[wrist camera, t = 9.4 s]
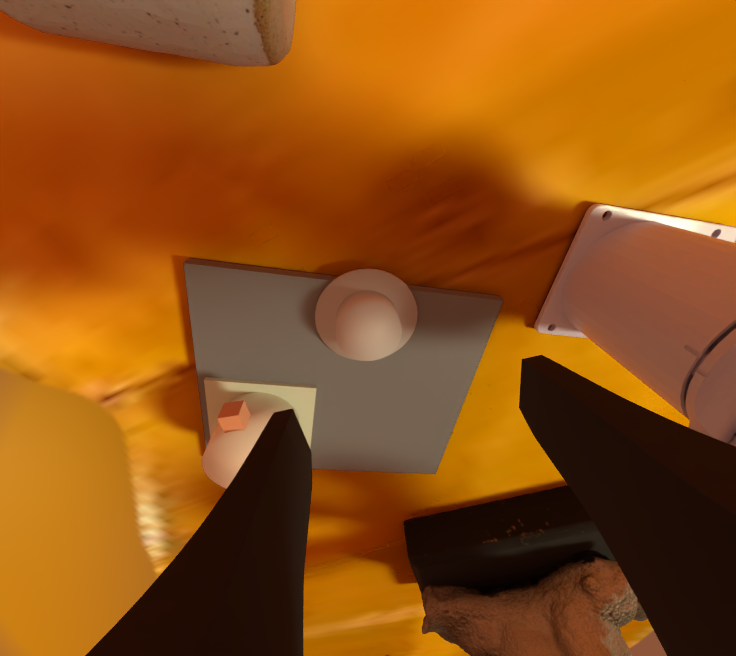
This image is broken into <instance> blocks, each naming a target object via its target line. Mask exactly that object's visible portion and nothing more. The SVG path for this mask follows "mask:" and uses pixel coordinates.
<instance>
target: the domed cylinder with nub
mask: <svg viewBox="0 0 736 656" xmlns="http://www.w3.org/2000/svg"><path fill="white" fill-rule="evenodd" d="M288 409H293V410H294V412H295V414H296V417H297V419H298V421H299V417H298V414H297V412H296V410H295V409H294V408H293V406H292V405H291V404H289V403H288V402H287V401H285V400H284V399H282V398H280V397H278V396H275V395H272V394H268V393H261V392H253V393H246V394H242V395H239V396H237V397H235V398H233V399H232V400H230V401H229V402H228V403H224V404H223V406H222V409H221V411H220V413H219V415H218V418H217V419H218V422H217V425H216V427H215V429H214V431H213V434H212V436H211V438H210V441H209V443H208V445H207V447H206V450H205V452H204V454H203V457H202V467H203V470H204V472H205V473H206V475H207V476H208V477H209V478H210V479H211V480H212V481H213V482H215V483H216V484H218V485H219V486H221V487H223V488H226V489H227V488H228V486H229V485H230V483H231V482H232V480H233V479H234V477H235V476H236V474H237V472H238V471H239V469H240V468H241V466H242V464H243V463H244V461H245V460H246V458H247V456H248V455H249V453H250V451H251V450H252V448H253V446H254V445H255V443H256V441H257V440H258V438H259V436H260V435H261V433H262V431H263V429H264V428H265V426H266V424H267V423H268V421H269V419H270V418H271V416H272V415H273V413H274V412H279V411H283V410H288Z"/></svg>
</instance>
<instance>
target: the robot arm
mask: <svg viewBox="0 0 736 656" xmlns="http://www.w3.org/2000/svg"><path fill="white" fill-rule="evenodd" d="M606 211H607V214H606V216H605V217H604V218H603V219H602V216H603V214H604V213H605V212H606ZM712 233H713V234H712ZM735 240H736V227H733V226H728V225H722V224H716V223H711V222H705V221H699V220H693V219H687V218H681V217H675V216H669V215H664V214H658V213H652V212H646V211H640V210H634V209H628V208H622V207H617V206H611V205H605V204H594V205H592V206H591V207H589V208H588V210H587V211H586V214H585V216H584V218H583V220H582V222H581V224H580V227H579V229H578V231H577V233H576V235H575V237H574V240H573V242H572V244H571V246H570V248H569V250H568V253H567V255H566V257H565V259H564V261H563V263H562V266H561V268H560V270H559V272H558V274H557V276H556V279H555V281H554V283H553V285H552V287H551V289H550V292H549V294H548V296H547V298H546V300H545V302H544V305H543V307H542V309H541V311H540V313H539V316H538V318H537V320H536V322H535V325H534V327H535V329H536V330H537V331H538V332H539V333H544V334H553V335H563V336H572V337H582V338H589V339H590V340H591V341H593V342H594V343H595V344H596V345H598V346H599V347H600V348H601V349H602V350H604V351H605V352H606V353H607V354H609V355H610V356H611V357H612V358H614V359H615V360H616V361H617V362H619V363H620V364H621V365H622V366H623V367H625V368H626V369H627V370H628V371H630V372H631V373H632V374H633V375H635V376H636V377H637V378H638V379H640V380H641V381H642V382H643V383H644V384H646V385H647V386H648V387H649V388H651V389H652V390H653V391H654V392H656V393H657V394H658V395H659V396H661V397H662V398H663V399H664V400H666V401H667V402H668V403H669V404H670V405H672V406H673V407H674V408H675V409H677V410H678V411H679V412H680V413H682V414H683V415H684V416H685V417H687V418H688V419H689V420H690V424H689V427H685V426H683V425H681V424H678V423H676V422H674V421H671V420H669V419H667V418H665V417H663V416H660V415H658V414H656V413H654V412H652V411H650V410H647V409H645V408H643V407H641V406H639V405H637V404H635V403H633V402H631V401H629V400H627V399H625V398H622V397H620V396H618V395H617V394H615V393H613V392H611V391H609V390H607V389H605V388H603V387H601V386H599V385H597V384H595V383H593V382H592V381H590V380H588V379H586V378H584V377H582V376H580V375H578V374H577V373H575V372H573V371H571V370H569V369H567V368H566V367H564V366H562V365H560V364H558V363H556V362H554V361H552V360H551V359H549V358H547V357H545V356H543V355H539V356H535V357H530V358H525V359H522V367H521V384H520V402H519V408H520V410H521V412H522V414H523V416H524V418H525V420H526V422H527V424H528V426H529V427H530V429H531V431H532V433H533V435H534V436H535V438H536V439H537V441H538V442H539V444H540V445H541V447H542V448H543V450H544V451H545V452H546V454H547V455H548V457H549V458H550V460H551V461H552V463H553V464H554V465H555V467H556V468H557V470H558V471H559V472H560V474H561V475H562V477H563V478H564V479H565V481H566V482H567V484H568V485H569V487H570V488H571V489H572V491H573V492H574V494H575V495H576V496H577V498H578V499H579V501H580V502H581V504H582V505H583V506H584V508H585V510H586V511H587V513H588V514H589V516H590V517H591V519H592V520H593V522H594V523H595V525H596V527H597V529H598V530H599V532H600V534H601V535H602V537H603V539H604V541H605V542H606V544H607V546H608V547H609V549H610V551H611V553H612V554H613V556H614V558H615V559H616V561H617V563H618V565H619V567H620V568H621V570H622V572H623V574H624V576H625V578H626V579H627V581H628V583H629V585H630V587H631V588H632V590H633V592H634V594H635V596H636V597H637V599H638V601H639V603H640V605H641V607H642V609H643V610H644V612H645V614H646V616H647V618H648V620H649V622H650V624H651V626H652V628H653V629H654V631H655V633H656V635H657V637H658V639H659V641H660V643H661V645H662V646H663V648H664V650H665V652H666V654H667V656H736V243H734V241H735ZM551 324H552V326H551V327H550V328H548V327H549V325H551ZM311 492H312V454H311V449H310V447H309V445H308V442H307V440H306V438H305V435H304V433H303V431H302V428H301V426H300V424H299V421H298V419H297V417H296V414H295V412H294V410H293V409H288V410H283V411H279V412H274V413H273V415H272V416H271V418H270V419H269V421H268V423H267V424H266V426H265V428H264V429H263V431H262V433H261V435H260V436H259V438H258V440H257V441H256V443H255V445H254V446H253V448H252V450H251V451H250V453H249V455H248V456H247V458H246V460H245V461H244V463H243V464H242V466H241V468H240V469H239V471H238V472H237V474H236V476H235V477H234V479H233V480H232V482H231V483H230V485H229V486H228V488H227V489H226V490H225V492H224V493H223V495H222V496H221V498H220V499H219V501H218V502H217V504H216V505H215V507H214V508H213V509H212V511H211V512H210V514H209V515H208V516H207V518H206V519H205V520H204V522H203V523H202V524H201V526H200V527H199V528H198V530H197V531H196V532H195V534H194V535H193V536H192V538H191V539H190V540H189V541H188V543H187V544H186V545H185V546H184V548H183V549H182V550H181V551H180V553H179V554H178V555H177V556H176V557H175V559H174V560H173V561H172V562H171V563H170V564H169V566H168V567H167V568H166V569H165V570H164V571H163V573H162V574H161V575H160V576H159V577H158V578H157V579H156V581H155V582H154V583H153V584H152V585H151V586H150V588H149V589H148V590H147V591H146V592H145V593H144V594H143V596H142V597H141V598H140V599H139V600H138V601H137V602H136V603H135V604H134V605H133V607H132V608H131V609H130V610H129V611H128V612H127V613H126V614H125V615H124V616H123V617H122V618H121V619H120V620H119V622H118V623H117V624H116V625H115V626H114V627H113V628H112V629H111V630H110V631H109V632H108V633H107V634H106V635H105V636H104V637H103V638H102V639H101V640H100V641H99V642H98V643H97V644H96V645H95V646H94V648H93V649H92V650H91V651H90V652H89V653H88V654H87V655H85V656H303V586H304V566H305V555H306V544H307V534H308V524H309V514H310V503H311Z"/></svg>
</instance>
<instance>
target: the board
mask: <svg viewBox="0 0 736 656" xmlns="http://www.w3.org/2000/svg"><path fill="white" fill-rule="evenodd" d="M183 264H184V272H185V280H186V288H187V296H188V305H189V313H190V321H191V329H192V337H193V345H194V354H195V362H196V370H197V378H198V386H199V395H200V403H201V411H202V419H203V427H204V435H205V444H206V447H207V445H208V443H209V441H210V438H211V436H212V434H213V431H214V429H215V427H216V425H217V422H218V419H217V418H218V415H219V413H220V411H221V409H222V406H223V404H224V403H228V402H229V401H230V400H232V399H233V398H235V397H237V396H239V395H242V394H246V393H253V392H261V393H268V394H272V395H275V396H278V397H280V398H282V399H284V400H285V401H287V402H288V403H289V404H291V405H292V406H293V408H294V409H295V410H296V412H297V414H298V417H299V424H300V426H301V428H302V431H303V433H304V435H305V438H306V440H307V442H308V445H309V447H310V449H311V454H312V469H318V470H344V471H369V472H394V473H420V474H436V472H437V469H438V467H439V464H440V462H441V459H442V457H443V454H444V451H445V449H446V446H447V444H448V441H449V439H450V436H451V434H452V431H453V429H454V426H455V423H456V421H457V418H458V416H459V413H460V411H461V408H462V406H463V403H464V401H465V398H466V395H467V393H468V390H469V388H470V385H471V383H472V380H473V378H474V375H475V373H476V370H477V368H478V365H479V362H480V360H481V357H482V355H483V352H484V350H485V347H486V345H487V342H488V340H489V337H490V334H491V332H492V329H493V327H494V324H495V322H496V319H497V317H498V314H499V312H500V309H501V306H502V304H503V300H502V299H501V298H500V297H499V296H498V295H489V294H481V293H473V292H465V291H456V290H448V289H440V288H432V287H423V286H415V285H407V284H405V283H404V282H403V281H402V280H401V279H400V278H398V277H397V276H395V275H393V274H391V273H389V272H386V271H383V270H379V269H373V268H363V269H356V270H352V271H349V272H346V273H344V274H342V275H340V276H332V275H324V274H316V273H308V272H299V271H291V270H283V269H275V268H266V267H258V266H250V265H242V264H233V263H225V262H217V261H209V260H200V259H192V258H189V259H188V260H187V261H185V262H184V263H183Z"/></svg>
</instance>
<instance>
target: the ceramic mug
mask: <svg viewBox="0 0 736 656" xmlns="http://www.w3.org/2000/svg"><path fill="white" fill-rule="evenodd" d="M295 8H296V0H0V10H1V11H2V12H4V13H5V14H7V15H8V16H10V17H12V18H13V19H15V20H16V21H18V22H20V23H22V24H25V25H27V26H29V27H31V28H34V29H36V30H39V31H41V32H44V33H49V34H55V35H60V36H65V37H72V38H80V39H85V40H91V41H96V42H102V43H108V44H113V45H119V46H124V47H129V48H135V49H140V50H146V51H151V52H159V53H168V54H173V55H179V56H184V57H189V58H194V59H200V60H205V61H210V62H215V63H221V64H226V65H231V66H270V65H275V64H277V63H279V62H280V61H281V60H282V59H283V58H284V57H285V56H286V55H287V53H288V52H289V51H290V47H291V43H292V37H293V30H294V20H295Z"/></svg>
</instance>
